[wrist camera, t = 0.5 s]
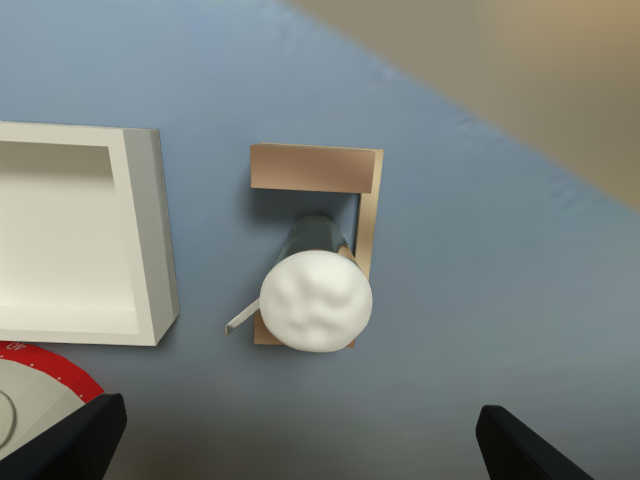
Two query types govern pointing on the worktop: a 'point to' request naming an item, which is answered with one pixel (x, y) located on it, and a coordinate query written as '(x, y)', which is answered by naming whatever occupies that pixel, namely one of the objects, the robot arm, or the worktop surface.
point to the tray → (84, 235)
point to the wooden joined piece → (321, 175)
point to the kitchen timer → (37, 392)
